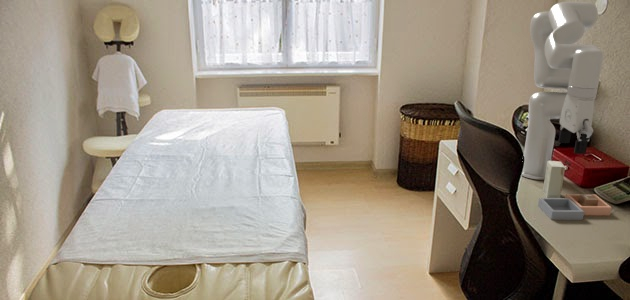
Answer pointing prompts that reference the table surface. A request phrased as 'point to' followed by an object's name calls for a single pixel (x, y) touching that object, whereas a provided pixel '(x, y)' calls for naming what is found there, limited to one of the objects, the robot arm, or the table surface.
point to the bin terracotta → (592, 210)
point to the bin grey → (560, 209)
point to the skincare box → (553, 179)
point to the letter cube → (587, 200)
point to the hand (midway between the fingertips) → (571, 148)
